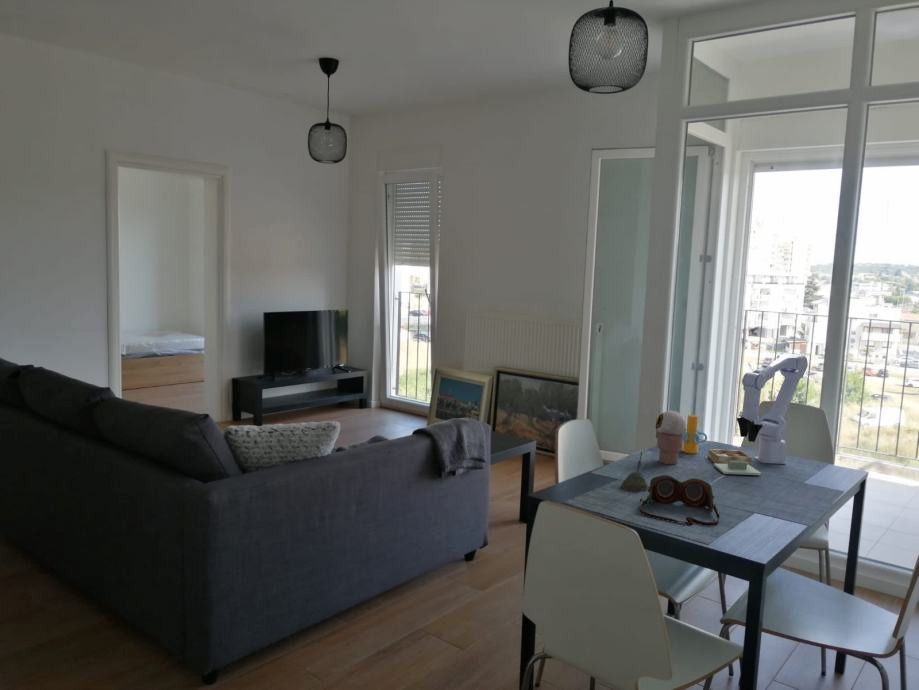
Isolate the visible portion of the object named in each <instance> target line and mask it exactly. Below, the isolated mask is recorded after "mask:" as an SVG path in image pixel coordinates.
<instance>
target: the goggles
mask: <svg viewBox="0 0 919 690" xmlns="http://www.w3.org/2000/svg"><path fill="white" fill-rule="evenodd" d="M648 487H649V488H648V489H647V492H648V493H649V494H648V495H647V497H646V499H644V498H641V497H640V498H639V502H640V504H638V507H637V510H638V511H639V514H641V515H643V514H644V515H643V516H645V515H647V516H646V517H648V516H650V517H649V518H652V517H655V518H654V519H656V518H660V519H659V520H661V519H664V520H663V521H665V520H669V521H668V522H670V521H674V522H673V523H675V522H678V523H677V524H680V523H682V524H681V525H685V524H687V525H686V526H693V523H694V522H695V523H694V524H697V523H698V525H700V524H702V525H701V526H705V525H708V526H709V525H710V526H709V527H712V526H711V525H714V526H717V525H718V524H719V519H720V518H721V517H720V514H719V512H718V509H717V506H716V504H715V502H714V499H715V496H714V495H713V488H712V485H711V484H710V483H708V482H707V481H705V480H703V479H700V478H690V479H686V480H684V481H679V480H678V479H676V478H675V477H673V476H672V475H671V476H670V475H666V474H662V475H657V476H654V477H652V479H650V483H649V486H648ZM652 501H653V502H655V503H663V504H670V503H671V504H675V503H677V502H681V503H682V504H684V505H685V506H688V507H697V508H705V507H707V508H708V512H710V513H713V511H714V513H715V517H716V520H715V521H702V520H699V519H696V518H694V517H690V516H688V515H687V516H685V520H680V519H674V518H669V517H666V516H663V515H662V516H661V515H657V514H653V513H650V512H647V511H645V510H644V509H643V507H644V506H645V505H647V503H648V506H651V505H652ZM686 520H687V521H688V522H687V521H686ZM708 526H707V527H708Z"/></svg>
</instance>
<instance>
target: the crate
mask: <svg viewBox="0 0 919 690" xmlns="http://www.w3.org/2000/svg"><path fill="white" fill-rule="evenodd" d="M707 450H708V451H707V459H708V460H710V461H711V462H712V463H713V464H714V463H716V464H728V460H731V461H745V462H747V465H750V466H752V456H750V455H748V453H746V452H744V451H743V450H740V449H739V450H736V449H733V450H732V449H717V448H716V449H714V448H713V449H711V448H708V449H707Z"/></svg>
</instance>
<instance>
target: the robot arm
mask: <svg viewBox="0 0 919 690" xmlns="http://www.w3.org/2000/svg"><path fill="white" fill-rule="evenodd" d="M807 368H808V359H807V356H806V355H804V354H803V355H800V354H794V353H793V354H792V353H788V352H787V353H786V352H785V351H784V352H780V353H778V355H777V357H776V359H775V360H773V362H771V363H769V364H767V363H765V364H764V363H763V364H762V365H761V366H760V367H758V368H756V369H755V370H754V371H747V372H746V373H745V374H743V377H742V378H741V384H742V389H743V402H742V410H741V411H739V413H738V416H739V417H736V421H737V424H738V427H739V434H740V437H743V438H746V437H748V442H749V443H750V442H751V443H752V442H753V443H755V442H756V439H757V437H758V438H759V443H758V444H759V446H758V454H757V456H753V457H754V459H756V460H757V461H758V462H760V463H762V464H776V465H777V464H780V465H781V464H783V465H786V464H787V462H786V456H787V448H788V447H787V443H786V440H784V438H785V436H786V434H787V429H788V423H787V421H786V420H785V416H786V413H787V410H788V408H789V406H790V404H791V401H792V400H793V397H794V395H795V392H796V390H797V387H798V385H799V382H800V381H801V379H803V378H804V375H805V373H806V370H807ZM777 372H780V375H781V376H783V377H784V380H783V383H782V384H781V386H780V389H779V392H778V393H777V395H776V398H775V401H774V402H773V404H772V407H771V409H770V412H769V413H767V414H766V413H765V414H764V415H762V416H761V418H760V416H759V414H760V413H759V412H760V411H759V410H760V403H761V393H762V389H764V387H765V385H766V384H767V382H768V381H770V380H771V379H772V378H774V377H775V375H776V373H777Z"/></svg>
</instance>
